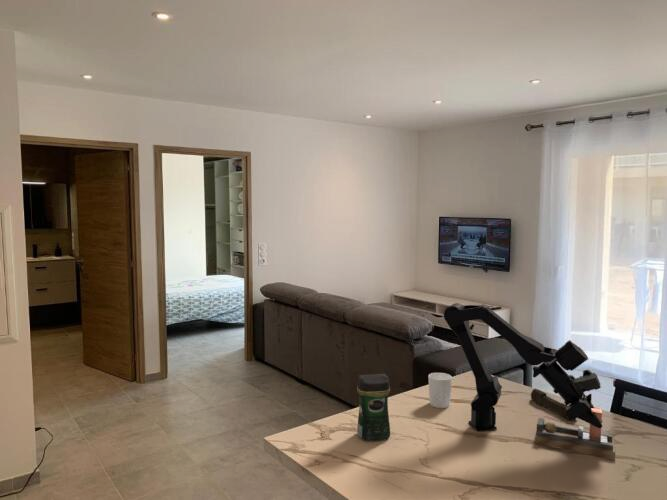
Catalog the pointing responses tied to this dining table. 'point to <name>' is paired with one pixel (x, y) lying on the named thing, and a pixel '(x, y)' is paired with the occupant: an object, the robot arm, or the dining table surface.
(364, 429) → the coffee jar
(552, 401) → the dark brown bar
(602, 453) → the ball pusher game
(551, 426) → the nut
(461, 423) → the dining table surface
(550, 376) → the robot arm
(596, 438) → the lever
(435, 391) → the white cup
